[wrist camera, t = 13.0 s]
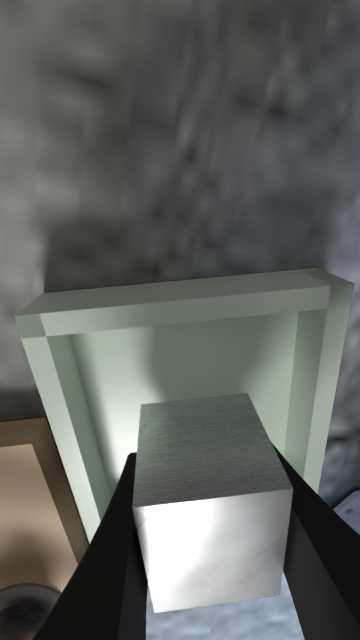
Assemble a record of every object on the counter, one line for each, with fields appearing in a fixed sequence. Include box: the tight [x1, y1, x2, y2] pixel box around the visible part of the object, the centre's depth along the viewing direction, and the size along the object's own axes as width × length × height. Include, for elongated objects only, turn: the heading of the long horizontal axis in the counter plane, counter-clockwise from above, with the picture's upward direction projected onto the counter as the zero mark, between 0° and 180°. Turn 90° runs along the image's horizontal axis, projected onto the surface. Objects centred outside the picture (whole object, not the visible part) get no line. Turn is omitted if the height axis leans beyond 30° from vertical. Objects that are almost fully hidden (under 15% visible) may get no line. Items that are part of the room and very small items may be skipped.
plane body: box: [0, 417, 89, 613], centre depth 16 cm, size 18×7×2 cm, turn 4°
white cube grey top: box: [132, 393, 293, 613], centre depth 10 cm, size 5×4×4 cm
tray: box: [14, 268, 354, 543], centre depth 13 cm, size 13×11×2 cm
